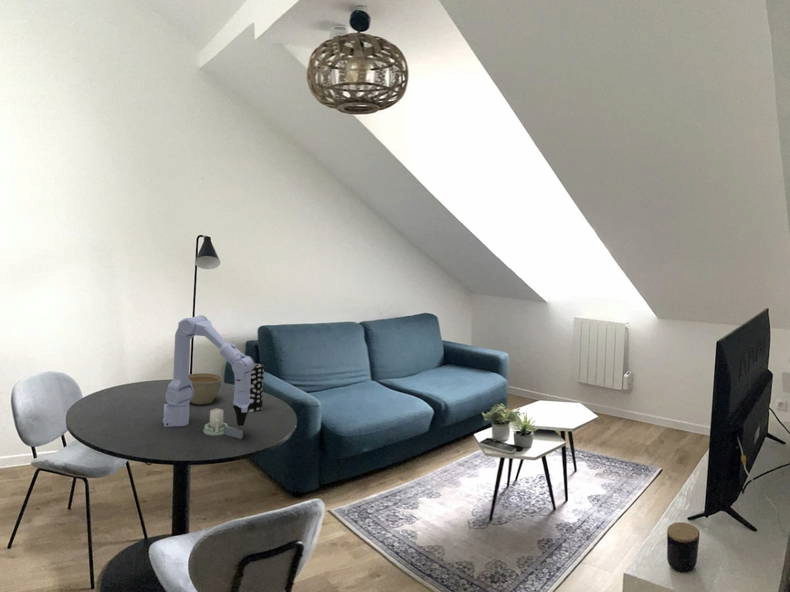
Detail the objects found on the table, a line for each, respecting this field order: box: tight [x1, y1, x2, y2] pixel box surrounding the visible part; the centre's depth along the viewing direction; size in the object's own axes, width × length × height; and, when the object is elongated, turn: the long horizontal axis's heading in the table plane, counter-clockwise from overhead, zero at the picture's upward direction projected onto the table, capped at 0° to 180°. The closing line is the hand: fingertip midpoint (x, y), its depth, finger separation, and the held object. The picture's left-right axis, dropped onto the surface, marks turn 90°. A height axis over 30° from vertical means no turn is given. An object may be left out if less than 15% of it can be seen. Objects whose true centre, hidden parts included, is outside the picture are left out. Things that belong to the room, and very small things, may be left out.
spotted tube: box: [248, 362, 265, 413], centre depth 243 cm, size 8×8×20 cm
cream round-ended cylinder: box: [209, 408, 224, 432], centre depth 214 cm, size 8×5×7 cm, turn 20°
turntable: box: [203, 421, 244, 440], centre depth 214 cm, size 14×14×3 cm
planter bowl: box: [189, 372, 223, 405], centre depth 252 cm, size 16×16×11 cm
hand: (240, 425), depth 212 cm, fingers closed
